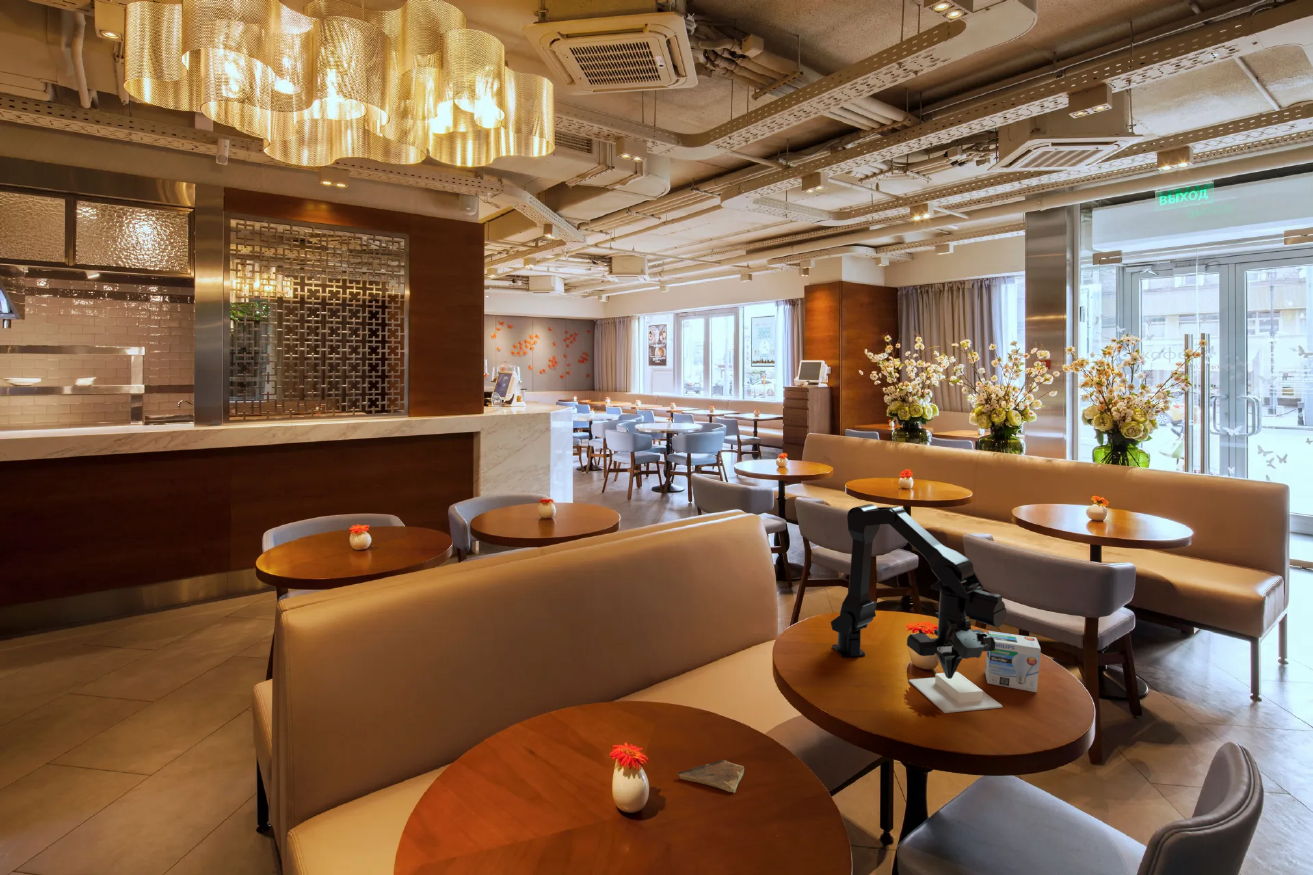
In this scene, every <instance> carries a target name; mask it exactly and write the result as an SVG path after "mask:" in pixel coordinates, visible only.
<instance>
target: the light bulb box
mask: <svg viewBox="0 0 1313 875" xmlns="http://www.w3.org/2000/svg"><path fill="white" fill-rule="evenodd" d="M987 633H988V635H990V636H991V637H993V638H994V640H995V642H996V643H995V651H986V653H985V665H984V666H985V668H984V672H985V678H986V682H987V684H988V685H995V686H999V687H1005V688H1010V689H1017V690H1022V691H1027V692H1033V693H1037V692H1038V684H1039V683H1038V682H1039V674H1040V673H1039V672H1040V661H1041V650H1042V649H1041V646H1040V644H1039V641H1038V639H1037V637H1034V636H1028V635H1027V636H1026V635H1020V634H1012V633H1007V632H998V631H991V630H988V632H987Z"/></svg>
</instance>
